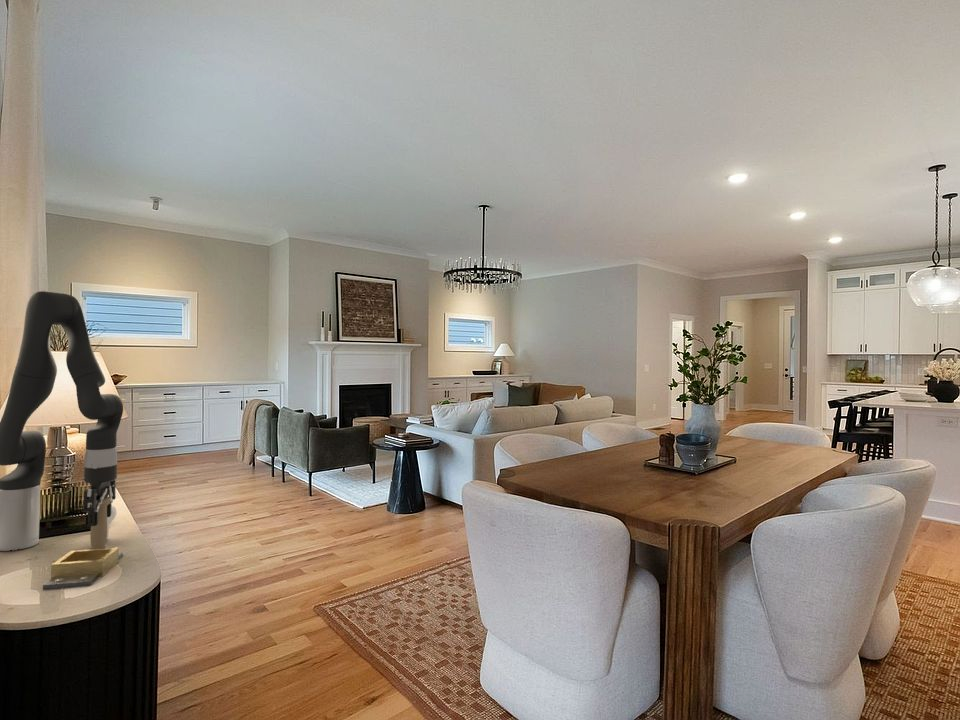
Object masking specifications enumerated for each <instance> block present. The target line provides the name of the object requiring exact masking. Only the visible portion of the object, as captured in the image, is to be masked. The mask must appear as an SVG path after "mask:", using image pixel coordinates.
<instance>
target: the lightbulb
mask: <svg viewBox="0 0 960 720" xmlns="http://www.w3.org/2000/svg"><path fill="white" fill-rule="evenodd" d="M116 516H117V508H116V506H115V505H114V504H113V503H111V516H110V517H107V539H108V538H109V531H110V528H111V526H112V525H111V524H112V523H113V521H114V520H115V519H116Z"/></svg>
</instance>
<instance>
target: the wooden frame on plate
mask: <svg viewBox="0 0 960 720" xmlns="http://www.w3.org/2000/svg"><path fill="white" fill-rule="evenodd" d="M119 549H120V548H119V547H106V548H104V549H91V548H90V549H78V550H77V549H76V550H74V549H72V550H70V551H69V552H67V553H66V554H65V555H63V556H61V557H60V558H59V559H57V560H55V561H54V562H53V563H52V564H50V567H51V568H50V579H49V580H47V581H46V582H45V583H43V584H42V590H50V589H63V588H76V587H88V586H91V585H92V584H94V583H95V581H97V580H98V579H100V578H103V577H104V576H105V575H106V574H108V572H109V571H110V570H112V569H113V568H114V567H115V566H116V565H117V564H118V563H119V560H120V559H121V558H122V557H123V556H124V552H121V551H119Z"/></svg>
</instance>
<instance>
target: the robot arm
mask: <svg viewBox="0 0 960 720" xmlns="http://www.w3.org/2000/svg"><path fill="white" fill-rule="evenodd" d="M82 309H83V308H82V307H81V304H80V302H79V300H78V299H77V298H76V297H75V296H74V295H72V294H68V293H60V292H53V291H44V290H43V291H42V290H40V291H37V292H35V293H32V295H31V296H30V297H29V299H28V301H27V304H26V308H25V315H24V321H23V323H24V324H23V332H22V339H21V344H20V349H19V353H18V357H17V360H16V361H17V362H16V365H15V368H14V372H13V375H12V379H11V384H10V388H9V393H8V397H7V401H6V404H5V407H4V411H3V414H2V416H1V418H0V419H1V420H0V466H12V465H16V467H15V468H14V469H13V470H12V471H10V472H9V473H8V474H6V475H4V476H2V477H0V552H7V551H8V552H10V550H12V551H18V549H19V550H22V549H28V548H32V547H34V546H36V545H38V543H39V538H40V511H41V507H40V505H41V484H42V483H41V482H42V481H41V480H42V478H43V475H44V471H45V464H46V454H47V453H46V452H47V443H46V438H45V436H44V434H43V433H41V432H40V431H38V430H25V429H24V428H25V425H26V424H27V422H28V419H29V418H30V417H31V416H32V415H33V414H34V412H36V411H37V409H39V407H40V406H41V405H42V404H43V403H44V402H45V401H46V400H47V399H48V398H49V396H50V395H51V394H52V391H53V389H54V385H55V382H56V378H57V374H58V368H57V363H56V360H55V358H54V356H53V353H52V351H51V347H50V343H49V342H50V335H51V329H52V328H53V325H57V326H61V328H62V329H63V331H64V333H65V334H66V337H67V341H68V342H67V349H66V359H65V361H66V366H67V371H68V372H69V375H70V376H71V378H72V381H73V383H74V385H75V388H76V389H75V390H76V398H77V407H78V410H79V411H80V413H81V415H83V416H84V417H85V418H86V419H88V420H90V421H96V424H95V425H94V426H93V427H92V428H90V429H88V430H87V432H86V435H85V436H86V437H85V453H84V466H83V467H84V468H83V469H84V471H83V472H84V473H83V475H84V476H83V477H84V478H83V482H84V483H85V484H86V483H87V484H90V488H89V489H85V490H84V493H83V506H82V507H83V508H82V509H83V511H82V512H83V513H87V526H88V527H91V526H96V525H98V510H99V507H100V505H101V504H102V503H103V500H104V499H105V498H107V496H108V497H110V498H111V499H110V504H109V505H107V517H110V516H111V504H113V503H114V501H115V500H116V495H117V494H116V479H117V477H118V451H117V438H118V437H117V433H118V429H119V427H120V424H121V421H122V416H123V414H124V404H123V401H122V399H121V398H120V396H118V395H117V394H113V393H103V394H101V391H100V388H101V387H102V386H104V385H105V383H106V378H105V375H104V373H103V371H102V369H101V366H100V364H99V363H98V360H97V358H96V356H95V353H94V350H93V347H92V344H91V340H90V336H89V331H88V327H87V324H86V321H85V320H86V319H85V316H84V312H83V310H82Z"/></svg>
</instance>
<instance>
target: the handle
mask: <svg viewBox="0 0 960 720" xmlns="http://www.w3.org/2000/svg"><path fill="white" fill-rule="evenodd" d="M110 499H111V498H110V497H108V496H107V498H105V499H104V500H103V503H102V504H101V505H100V507H99V510H98V525H96V526H90V537H89V538H90V547H91V548H90V549H104V548H107V546H106V544H107V541H108V538H107V505H109V504H110Z"/></svg>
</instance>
